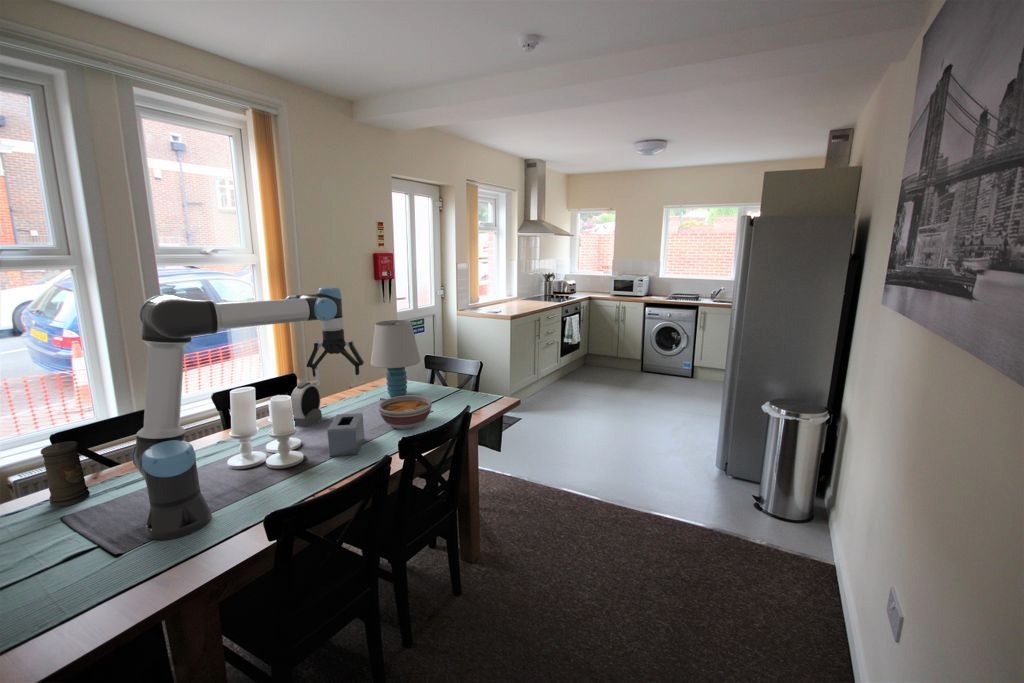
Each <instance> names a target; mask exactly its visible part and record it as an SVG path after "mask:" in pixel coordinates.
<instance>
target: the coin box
mask: <svg viewBox="0 0 1024 683" xmlns="http://www.w3.org/2000/svg"><path fill="white" fill-rule="evenodd" d="M364 427H365V426H364V415H363V412H362V413H361V412H359V413H339V414H336V415H335V417H334V418H333V420H332V421H331V423H330V424H329V426H328V428H327V430H326V431H327V439H328V451H329V458H334V457H336V458H337V457H338V458H339V457H350V456H358V454H359V452H360V450H361V447H362V445H363V443H364V441H365V430H364V429H365V428H364Z"/></svg>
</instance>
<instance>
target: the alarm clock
mask: <svg viewBox="0 0 1024 683" xmlns="http://www.w3.org/2000/svg"><path fill="white" fill-rule="evenodd" d="M290 397H291V399H292V408H293V415H294V421H295V426H294V427H296V426H299V427H300V428H308V427H311V426H313V425H315V424H317V423H319V422H320V421H321V420H322V419H323V414H322V410H321V409H320V406H321V393H320V390H319V388H318V386H316V384H313V383H311V382H309V381H307V382H306V381H301V382H300V383H298V385H297V386H296V387H295V388H294V389H293V390H292V392H291V394H290ZM299 427H298V428H299Z"/></svg>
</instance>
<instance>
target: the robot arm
mask: <svg viewBox="0 0 1024 683" xmlns="http://www.w3.org/2000/svg"><path fill="white" fill-rule="evenodd" d="M342 300H343V298H342V294H341V289H340V288H339V287H338V286H337V287H335V286H334V287H333V286H327V287H320V288H318V293H314V294H294V295H288V296H286V297H285V299H284V298H283V299H269V300H268V299H267V300H253V301H251V300H250V301H237V302H236V301H235V302H219V303H218V302H217V303H216V302H215V301H214V300H212V299H209V300H196V299H195V300H194V299H189V298H183V297H179V296H177V295H172V294H159V295H158V294H157V295H154V296H152V297H150V298H148V299H147V300H145V301H144V303H143V304H142V306H141V308H140V310H139V318H140V322H141V323H142V330H141V331H142V332H141V341H142V342H143V343H144V344H145V345H146V346H147V361H146V362H147V363H146V377H145V378H146V379H145V380H146V381H145V396H144V397H145V398H144V411H143V412H144V414H143V427H142V428H141V429H139V430H138V431H137V432H136V436H135V437H136V438H135V444H134V446H133V449H132V453H131V460H132V462H133V465H134V467H135V469H137V470H138V472H139V473H140V475H141V476H142V477H143V479H144V480H145V485H146V490H147V494H148V500H149V506H150V508H149V510H148V511H149V512H148V515H147V516H148V517H147V521H146V524H145V531H146V536H147V537H148V538H149V539H151V540H154V541H166V540H173V539H178V538H181V537H184V536H187V535H190V534H192V533H194V532H197V531H198V530H200V529H202V528H203V527H204V526H206V525H207V524H208V523H209V522H210V521H211V519H212V515H213V514H212V510H211V507H210V505H209V503H208V502H207V500H206V499H205V497H204V495H203V494H202V491H201V485H200V480H199V473H198V467H197V454H196V451H195V450H194V446H193V445H192V444H191V443H190V442H188V441H186V429H185V428H184V427H182V426H181V425H180V422H181V409H182V408H181V406H182V393H183V392H182V391H183V379H184V378H183V376H184V361H185V358H184V357H185V348H186V347H187V346H189V344H191V343H192V337H198V336H206V335H215V334H217V333H218V332H219V331H220V330H229V329H239V328H247V327H248V328H249V327H259V326H269V325H279V324H280V325H281V324H289V323H290V324H291V323H299V322H309V321H310V322H312V321H321V329H323V330H322V332H321V333H322V334H321V335H322V342H319V341H315V342H314V343H313V350H312V352H311V355H310V357H309V359H308V361H307V363H306V367H307V368H311V371H312V377H313V378H314V377H315V386H316V387H318V386H320V385H321V374H320V366H318V365H320V362H322V361H323V360H324V358H325V357H326V355H327V354H330V355H334V354H335V355H338V354H339V355H340V354H341V355H343V357H345V358H346V359H347V360H348V362H350V363H351V364H352V366H353V367H352V373H353V374H352V375H353V384H354V385H356V384H358V375H360V366H363V365H364V363H365V362H364V360H363V358H362V357H361V354H359V352H358V350H357V348H356V347H355V344H354V341H353V340H350V341H346V340H345V332H344V331H345V330H344V329H343V328H344V318H343V316H344V315H343V303H342V302H343V301H342ZM346 346H347V348H349V350H350V351H351V353H352V354H353V356H354V357H353V356H352V355H351V353H349V352H348V350H347V349H346V348H345V347H346ZM321 347H322V348H323V349H324V351H323V352H322V353H321V354H320V356H319V357H318V358H317V359H316V360H315V358H316V357H317V356H316V355H317V353H318V351H319V349H320V348H321ZM314 360H315V362H314Z"/></svg>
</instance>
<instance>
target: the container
mask: <svg viewBox="0 0 1024 683" xmlns="http://www.w3.org/2000/svg"><path fill="white" fill-rule="evenodd" d="M78 448H79V443H78V442H77V441H75V440H74V441H73V440H71V441H70V440H69V441H61V442H57V443H53V444H50V445H47V446H45V447H42V448H41V450H40V454H41V455H42V458H43V460H44V461H43V462H44V463H43V464H44V467H45V473H46V477H47V481H48V491H49V493H50V496H49V498H48V499H49V500H50V501H49V504H50V506H51V507H53V508H59V507H60V508H61V507H66V506H70V505H75V504H77V503H79V502H82V501H83V500H85V499H87V498H88V497H89V496H90V494H91V492H90V491H89V487H88V486H87V485H86V478H85V477H84V473H83V468H82V463H81V458H80V454H79V452H78V451H79V450H78Z"/></svg>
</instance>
